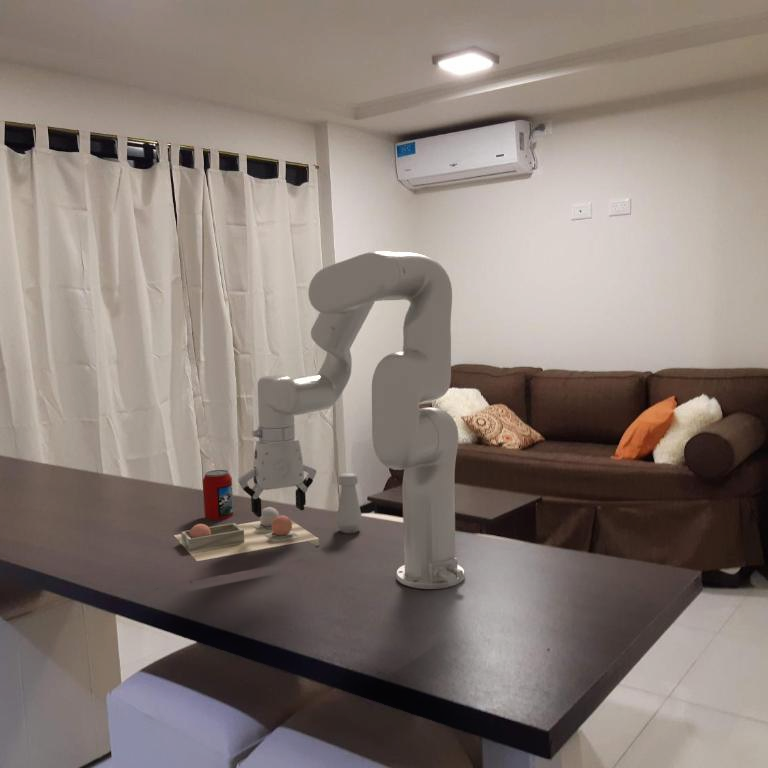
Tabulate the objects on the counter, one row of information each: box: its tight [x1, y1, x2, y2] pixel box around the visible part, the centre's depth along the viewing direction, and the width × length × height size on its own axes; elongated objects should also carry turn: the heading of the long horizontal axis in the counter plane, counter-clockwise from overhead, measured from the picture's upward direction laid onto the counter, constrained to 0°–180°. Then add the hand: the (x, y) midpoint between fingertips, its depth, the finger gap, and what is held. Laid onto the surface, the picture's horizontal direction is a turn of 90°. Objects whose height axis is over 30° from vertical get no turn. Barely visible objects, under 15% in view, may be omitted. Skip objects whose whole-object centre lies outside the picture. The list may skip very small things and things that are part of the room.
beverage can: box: [202, 469, 235, 521], centre depth 183 cm, size 7×7×12 cm
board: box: [173, 520, 320, 562], centre depth 166 cm, size 20×26×4 cm
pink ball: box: [190, 523, 211, 538], centre depth 161 cm, size 4×4×4 cm
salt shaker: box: [335, 472, 363, 534], centre depth 173 cm, size 6×6×13 cm
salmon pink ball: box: [271, 514, 292, 536], centre depth 166 cm, size 4×4×4 cm
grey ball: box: [258, 506, 280, 527], centre depth 173 cm, size 4×4×4 cm
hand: (279, 512), depth 166 cm, fingers open, 9 cm apart
